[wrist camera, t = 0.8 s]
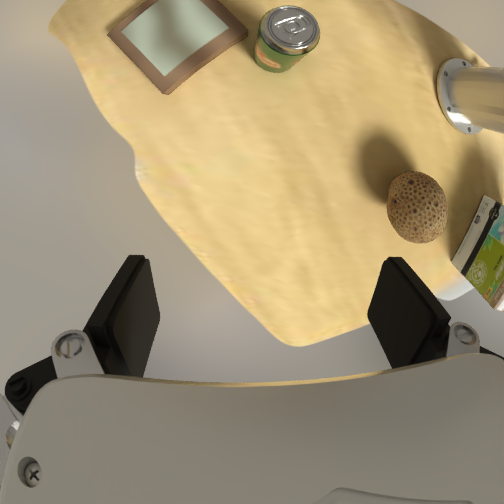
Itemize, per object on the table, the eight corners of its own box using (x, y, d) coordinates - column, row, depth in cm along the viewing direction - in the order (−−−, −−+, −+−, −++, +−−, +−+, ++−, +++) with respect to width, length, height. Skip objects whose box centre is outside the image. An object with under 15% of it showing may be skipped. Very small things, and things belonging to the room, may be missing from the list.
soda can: (245, 49, 26) (247, 17, 15) (280, 30, 24) (299, -6, 14) (269, 80, 28) (284, 63, 17) (303, 61, 27) (335, 38, 16)
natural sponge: (360, 188, 35) (396, 215, 26) (405, 151, 32) (449, 168, 23) (389, 233, 38) (422, 267, 29) (429, 199, 36) (469, 225, 27)
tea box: (481, 192, 35) (538, 227, 22) (503, 210, 37) (551, 244, 24) (448, 263, 42) (494, 311, 29) (473, 272, 43) (513, 315, 30)
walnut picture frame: (188, -19, 20) (184, -28, 17) (247, 36, 25) (248, 29, 22) (115, 38, 23) (105, 34, 21) (168, 94, 28) (161, 93, 25)
